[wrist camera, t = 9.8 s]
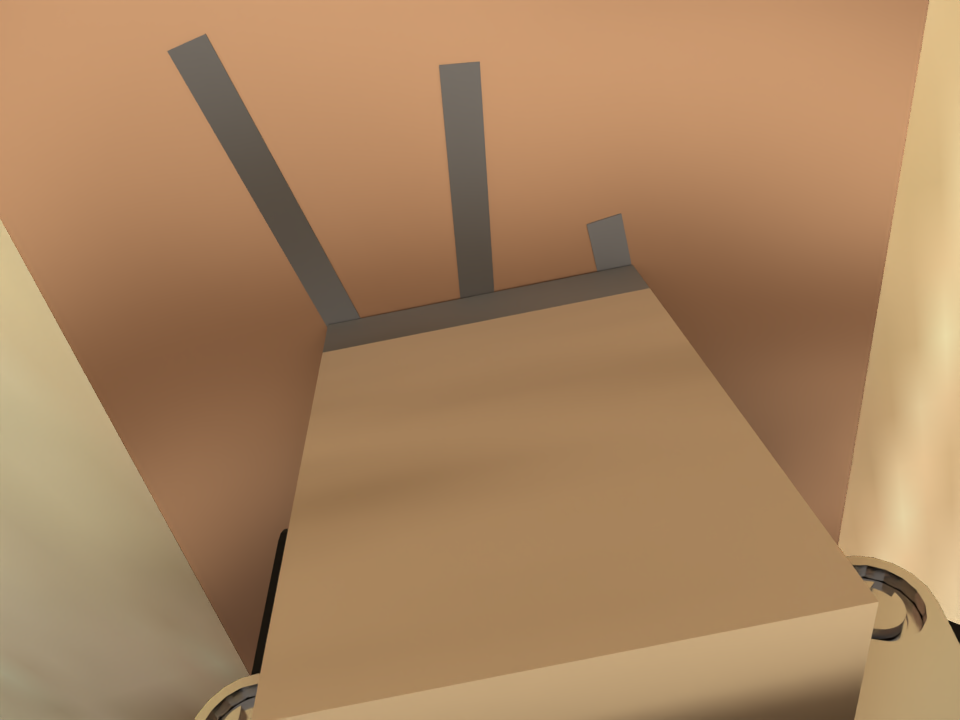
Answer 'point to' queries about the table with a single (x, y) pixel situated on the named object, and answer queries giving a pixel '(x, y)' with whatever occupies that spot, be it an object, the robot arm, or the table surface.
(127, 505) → the table surface
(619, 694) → the block
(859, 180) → the board
